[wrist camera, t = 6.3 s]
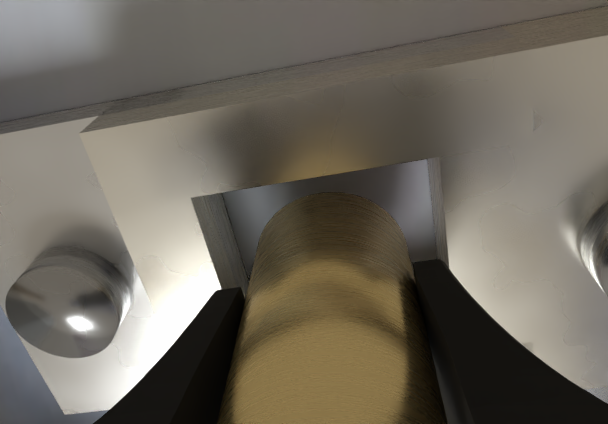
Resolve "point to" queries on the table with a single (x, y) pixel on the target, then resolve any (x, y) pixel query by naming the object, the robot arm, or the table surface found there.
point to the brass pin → (332, 323)
